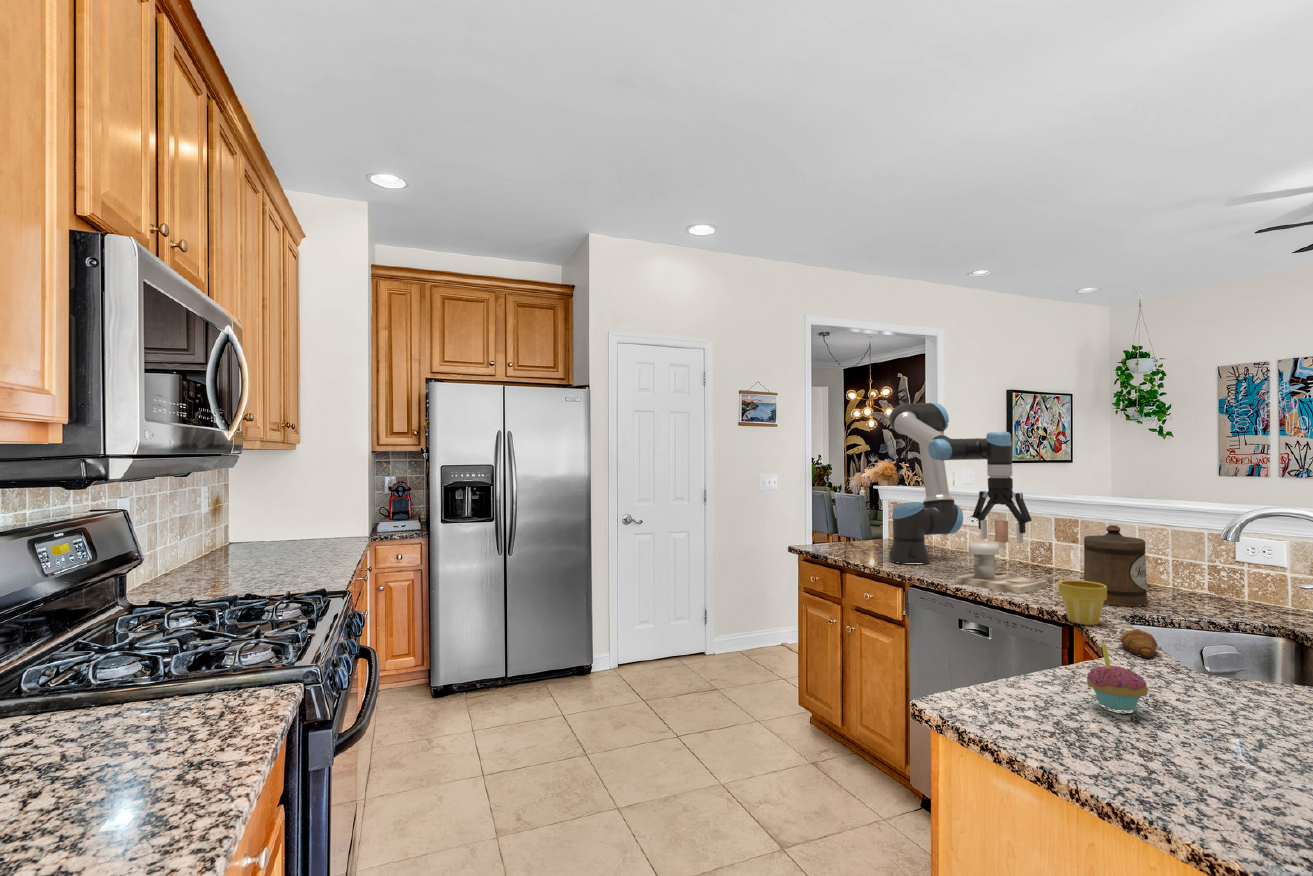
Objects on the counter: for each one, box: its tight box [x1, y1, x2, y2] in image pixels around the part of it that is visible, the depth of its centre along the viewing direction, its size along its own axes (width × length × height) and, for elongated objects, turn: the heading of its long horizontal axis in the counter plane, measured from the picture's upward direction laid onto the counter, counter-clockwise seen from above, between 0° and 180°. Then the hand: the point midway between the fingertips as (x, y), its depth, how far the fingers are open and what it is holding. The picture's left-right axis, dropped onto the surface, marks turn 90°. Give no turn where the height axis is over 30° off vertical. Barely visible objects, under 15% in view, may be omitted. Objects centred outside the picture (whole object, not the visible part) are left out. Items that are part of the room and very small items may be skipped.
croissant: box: [1119, 628, 1158, 659], centre depth 141 cm, size 14×7×5 cm, turn 156°
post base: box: [955, 554, 1048, 595], centre depth 209 cm, size 21×16×10 cm
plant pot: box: [1058, 579, 1107, 626], centre depth 164 cm, size 10×10×10 cm
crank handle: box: [968, 519, 1010, 556], centre depth 213 cm, size 18×9×10 cm, turn 122°
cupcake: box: [1086, 638, 1149, 711], centre depth 110 cm, size 9×8×12 cm
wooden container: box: [1083, 524, 1148, 607], centre depth 185 cm, size 15×15×22 cm
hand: (1001, 540), depth 217 cm, fingers open, 11 cm apart
